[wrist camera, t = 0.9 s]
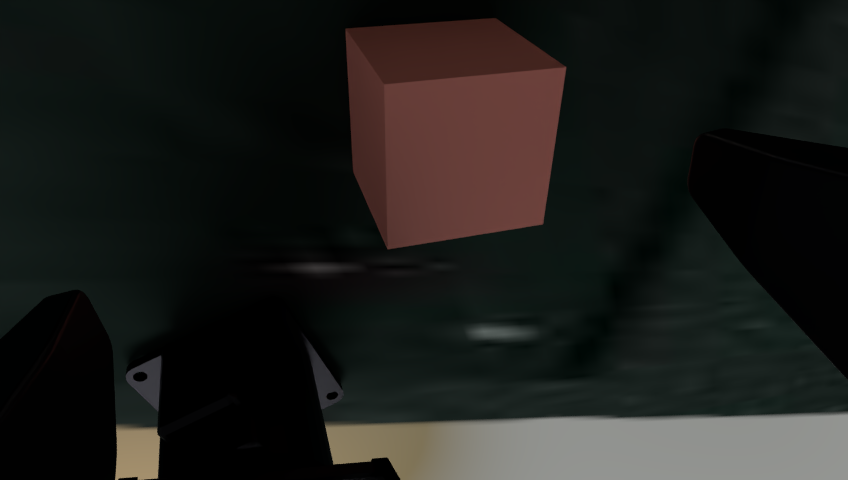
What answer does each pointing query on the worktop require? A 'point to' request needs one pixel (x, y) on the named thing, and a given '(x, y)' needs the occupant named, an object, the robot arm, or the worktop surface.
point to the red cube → (451, 127)
